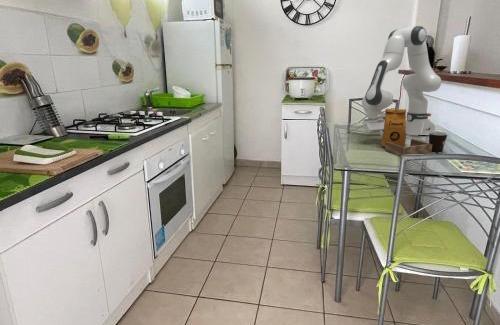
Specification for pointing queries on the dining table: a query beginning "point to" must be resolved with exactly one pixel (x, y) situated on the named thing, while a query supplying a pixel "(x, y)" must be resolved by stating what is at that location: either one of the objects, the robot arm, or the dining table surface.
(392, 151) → the frame
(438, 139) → the coffee mug
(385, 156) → the dining table surface
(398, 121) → the coffee package
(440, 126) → the dining table surface
